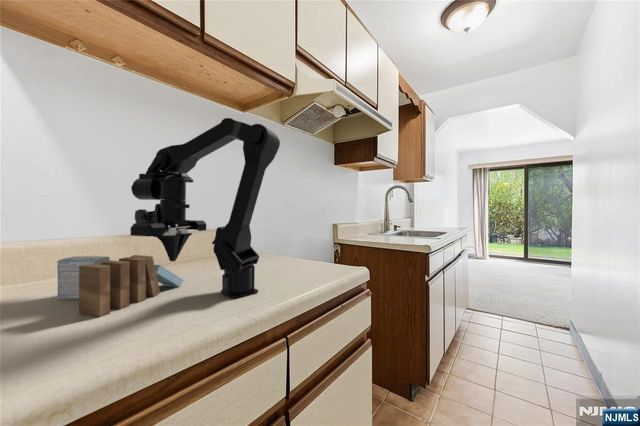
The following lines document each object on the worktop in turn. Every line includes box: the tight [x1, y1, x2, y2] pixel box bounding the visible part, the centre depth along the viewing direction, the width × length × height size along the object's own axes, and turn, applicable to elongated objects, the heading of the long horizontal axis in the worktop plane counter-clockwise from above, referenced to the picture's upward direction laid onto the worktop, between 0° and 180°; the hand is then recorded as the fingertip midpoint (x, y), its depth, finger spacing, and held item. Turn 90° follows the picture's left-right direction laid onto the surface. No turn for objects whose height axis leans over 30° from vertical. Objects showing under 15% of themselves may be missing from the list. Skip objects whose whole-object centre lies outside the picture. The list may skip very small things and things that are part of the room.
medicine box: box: [56, 255, 111, 300], centre depth 57 cm, size 8×4×9 cm, turn 92°
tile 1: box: [154, 264, 184, 288], centre depth 63 cm, size 2×5×9 cm
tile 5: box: [78, 264, 111, 318], centre depth 48 cm, size 2×5×9 cm, turn 77°
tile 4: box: [101, 259, 130, 311], centre depth 52 cm, size 2×5×9 cm, turn 77°
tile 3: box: [118, 256, 147, 304], centre depth 56 cm, size 2×5×9 cm, turn 76°
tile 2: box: [130, 254, 161, 298], centre depth 58 cm, size 2×5×9 cm, turn 76°
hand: (172, 261), depth 66 cm, fingers closed
